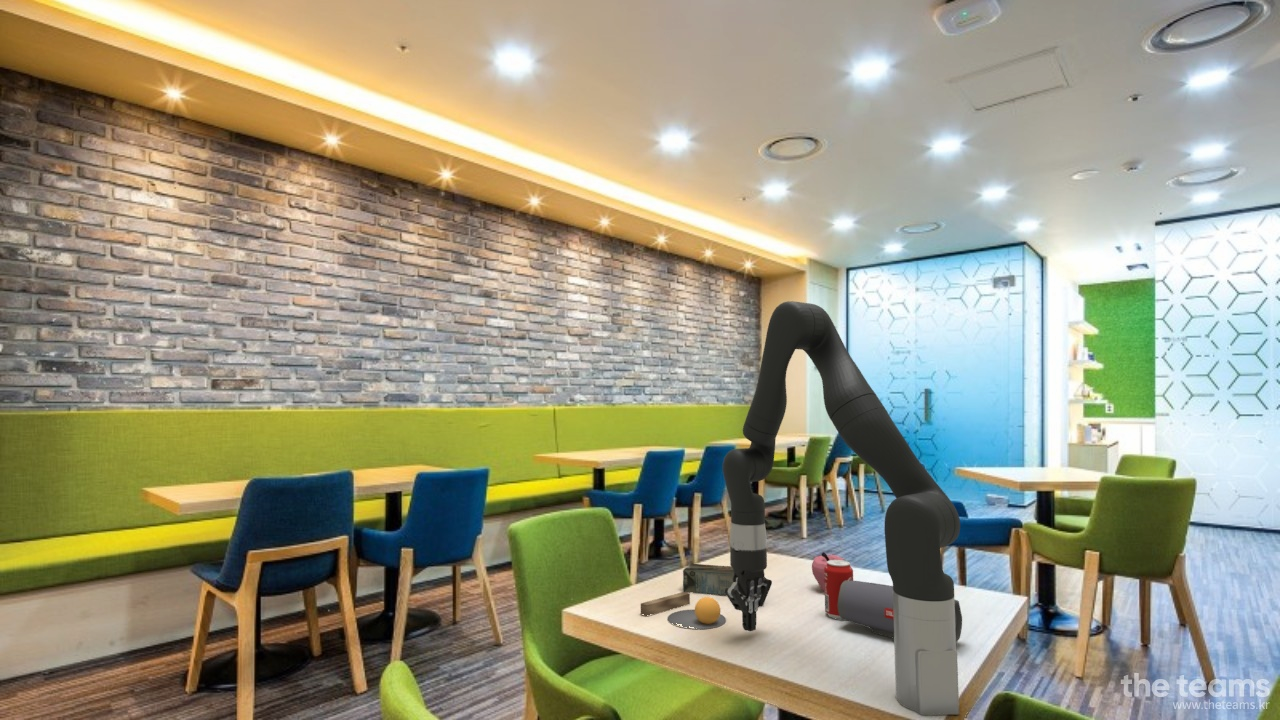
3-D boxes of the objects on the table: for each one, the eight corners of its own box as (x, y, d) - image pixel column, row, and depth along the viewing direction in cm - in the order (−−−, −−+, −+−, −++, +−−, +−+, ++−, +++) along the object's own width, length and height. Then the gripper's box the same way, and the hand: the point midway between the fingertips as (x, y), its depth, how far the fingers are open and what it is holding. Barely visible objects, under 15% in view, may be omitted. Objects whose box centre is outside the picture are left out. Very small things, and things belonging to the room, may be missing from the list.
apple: (847, 597, 163) (846, 556, 164) (811, 594, 166) (810, 554, 167) (847, 587, 172) (846, 548, 173) (813, 584, 175) (812, 546, 176)
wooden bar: (683, 602, 160) (683, 591, 160) (689, 604, 158) (689, 593, 159) (640, 614, 151) (640, 603, 151) (646, 616, 149) (646, 605, 149)
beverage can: (855, 621, 145) (854, 566, 146) (826, 619, 147) (825, 565, 147) (852, 612, 152) (851, 559, 152) (824, 611, 153) (823, 558, 154)
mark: (730, 629, 141) (730, 628, 141) (669, 629, 140) (669, 628, 140) (721, 610, 154) (721, 609, 154) (665, 610, 153) (665, 609, 153)
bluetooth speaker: (836, 630, 140) (835, 582, 141) (854, 619, 147) (853, 573, 148) (950, 656, 125) (948, 603, 126) (963, 643, 132) (962, 592, 133)
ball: (698, 624, 147) (717, 632, 143) (685, 611, 144) (704, 619, 140) (710, 601, 149) (729, 609, 145) (698, 589, 147) (717, 596, 142)
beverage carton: (690, 585, 176) (690, 559, 177) (762, 591, 170) (762, 565, 170) (682, 593, 169) (682, 566, 169) (757, 600, 162) (756, 573, 163)
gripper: (754, 537, 144) (755, 618, 143) (713, 546, 136) (714, 632, 134) (782, 543, 139) (783, 627, 137) (741, 552, 130) (742, 642, 129)
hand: (749, 629), depth 136 cm, fingers closed
